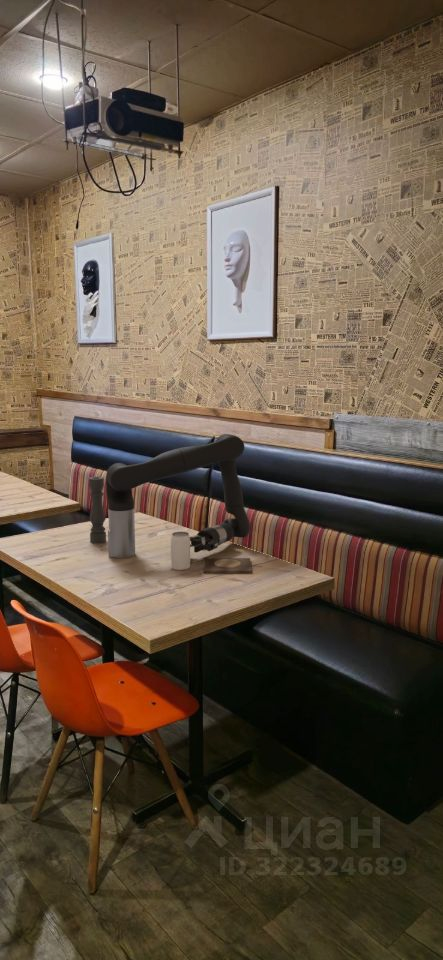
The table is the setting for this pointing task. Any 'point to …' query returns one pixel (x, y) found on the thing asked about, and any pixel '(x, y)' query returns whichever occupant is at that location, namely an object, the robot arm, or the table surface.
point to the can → (180, 551)
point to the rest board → (227, 565)
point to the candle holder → (97, 510)
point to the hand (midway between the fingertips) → (184, 547)
